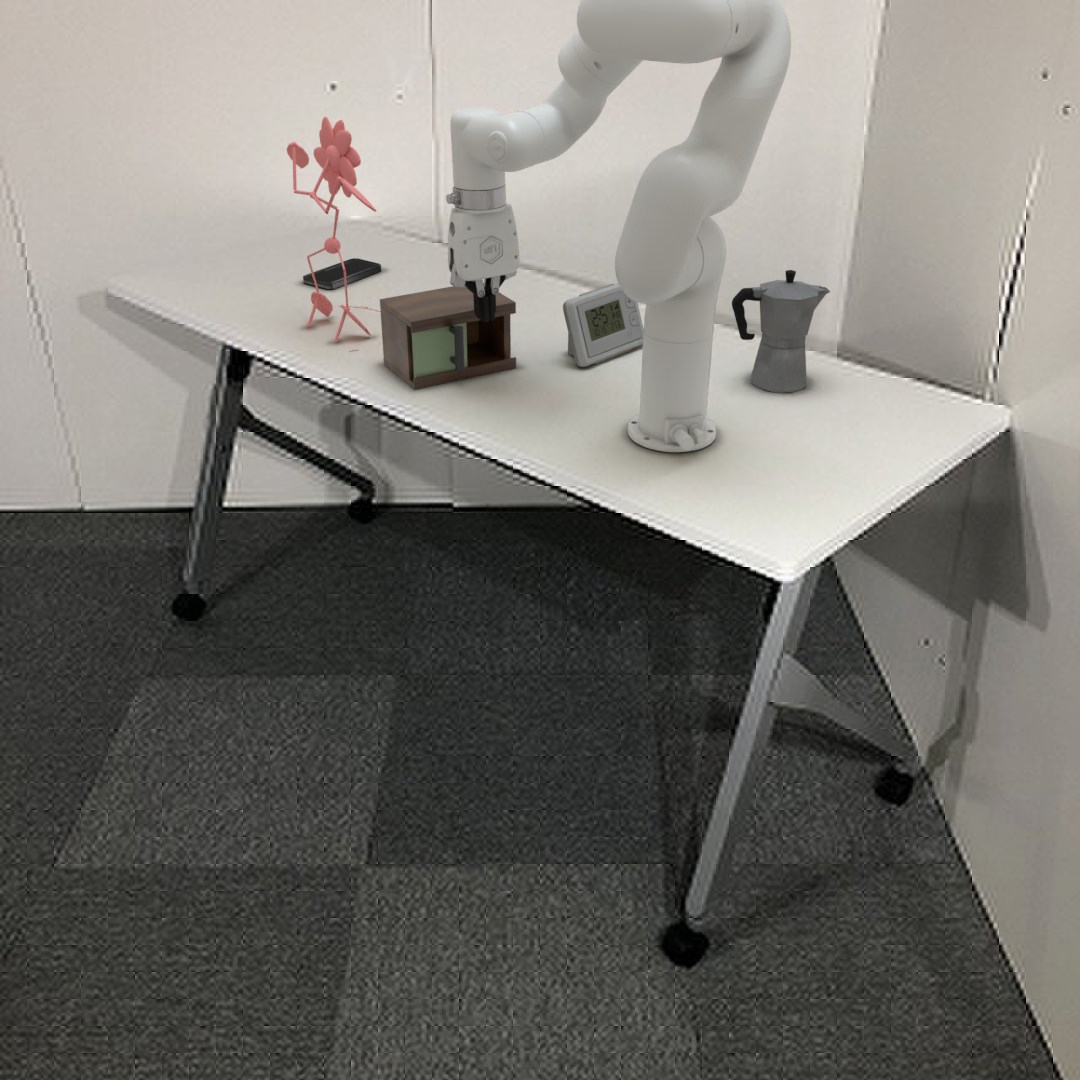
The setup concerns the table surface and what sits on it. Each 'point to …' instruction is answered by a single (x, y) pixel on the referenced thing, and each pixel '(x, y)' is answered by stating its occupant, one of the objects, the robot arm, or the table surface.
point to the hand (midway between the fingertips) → (485, 318)
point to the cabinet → (442, 310)
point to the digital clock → (602, 325)
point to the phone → (342, 273)
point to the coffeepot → (780, 330)
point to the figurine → (339, 173)
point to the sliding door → (439, 350)
